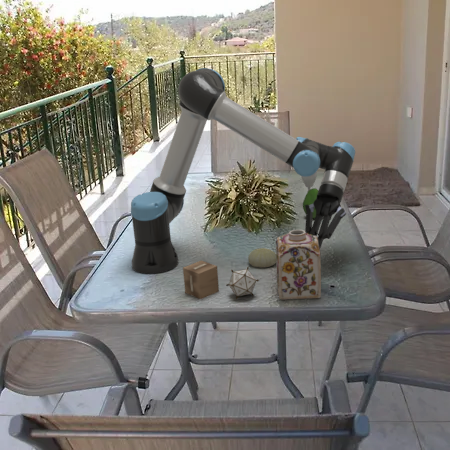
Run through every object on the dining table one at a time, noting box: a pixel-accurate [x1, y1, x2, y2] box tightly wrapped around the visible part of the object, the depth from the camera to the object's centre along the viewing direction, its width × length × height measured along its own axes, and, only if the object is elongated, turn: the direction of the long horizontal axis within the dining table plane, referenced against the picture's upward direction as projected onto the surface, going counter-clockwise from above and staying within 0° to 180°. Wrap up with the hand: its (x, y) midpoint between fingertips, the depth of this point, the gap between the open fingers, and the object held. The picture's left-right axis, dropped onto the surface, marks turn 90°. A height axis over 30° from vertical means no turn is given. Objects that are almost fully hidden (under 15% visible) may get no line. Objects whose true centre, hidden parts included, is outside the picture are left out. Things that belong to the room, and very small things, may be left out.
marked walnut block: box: [182, 260, 220, 300], centre depth 170 cm, size 7×7×8 cm
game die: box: [225, 266, 260, 300], centre depth 166 cm, size 9×8×10 cm
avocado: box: [302, 187, 319, 220], centre depth 229 cm, size 8×8×12 cm
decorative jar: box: [275, 229, 322, 301], centre depth 165 cm, size 12×12×18 cm
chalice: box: [300, 171, 318, 192], centre depth 241 cm, size 7×7×18 cm
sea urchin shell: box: [247, 247, 276, 269], centre depth 188 cm, size 9×8×8 cm
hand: (310, 257), depth 172 cm, fingers closed
